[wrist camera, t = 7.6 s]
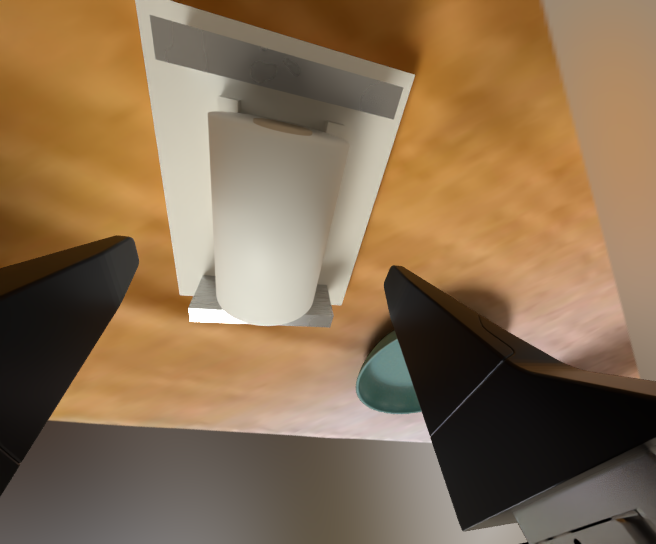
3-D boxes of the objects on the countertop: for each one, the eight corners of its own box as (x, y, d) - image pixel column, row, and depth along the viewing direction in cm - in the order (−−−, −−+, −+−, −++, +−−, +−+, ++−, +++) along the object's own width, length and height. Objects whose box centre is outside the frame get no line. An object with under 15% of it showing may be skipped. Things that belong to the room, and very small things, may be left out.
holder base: (339, 296, 20) (343, 312, 18) (184, 285, 17) (175, 303, 16) (406, 75, 12) (423, 73, 11) (146, -3, 10) (121, -19, 8)
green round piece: (493, 361, 29) (509, 382, 27) (376, 404, 32) (383, 427, 30) (485, 273, 21) (507, 294, 19) (326, 340, 23) (330, 366, 21)
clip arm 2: (371, 113, 12) (393, 119, 10) (186, 66, 10) (155, 59, 8) (378, 87, 11) (403, 87, 9) (183, 33, 10) (149, 14, 7)
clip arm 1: (323, 295, 18) (330, 327, 16) (204, 287, 16) (190, 321, 14) (326, 285, 18) (333, 315, 15) (202, 275, 16) (188, 308, 13)
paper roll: (308, 268, 17) (319, 328, 13) (224, 262, 15) (206, 326, 11) (336, 130, 12) (367, 153, 8) (221, 104, 11) (188, 115, 7)
